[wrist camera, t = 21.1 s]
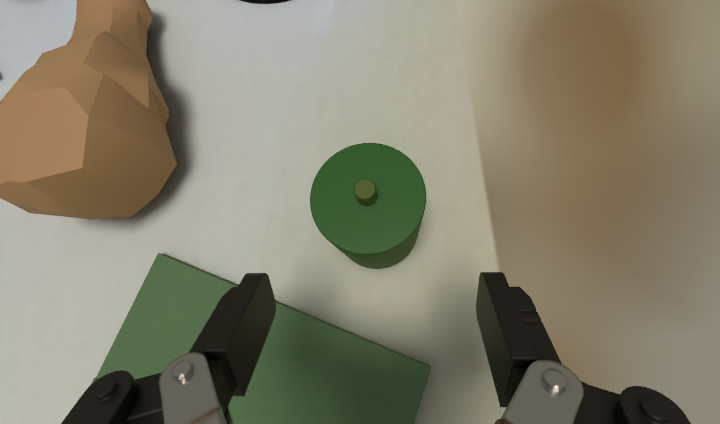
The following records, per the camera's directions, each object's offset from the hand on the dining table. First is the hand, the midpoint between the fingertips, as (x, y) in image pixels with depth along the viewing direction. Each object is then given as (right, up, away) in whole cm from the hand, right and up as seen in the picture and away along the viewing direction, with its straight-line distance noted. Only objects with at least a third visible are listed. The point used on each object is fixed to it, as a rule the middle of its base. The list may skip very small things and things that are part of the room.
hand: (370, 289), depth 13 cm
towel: (-7, -9, +9) cm, 15 cm away
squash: (-19, +11, +15) cm, 27 cm away
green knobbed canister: (+1, +2, +11) cm, 11 cm away
